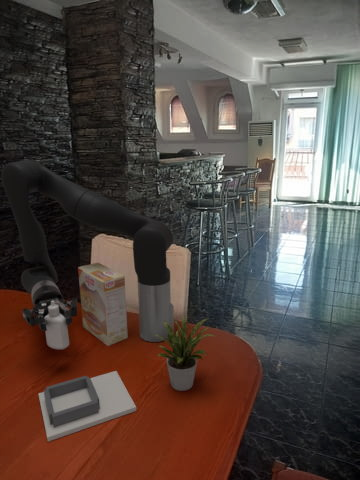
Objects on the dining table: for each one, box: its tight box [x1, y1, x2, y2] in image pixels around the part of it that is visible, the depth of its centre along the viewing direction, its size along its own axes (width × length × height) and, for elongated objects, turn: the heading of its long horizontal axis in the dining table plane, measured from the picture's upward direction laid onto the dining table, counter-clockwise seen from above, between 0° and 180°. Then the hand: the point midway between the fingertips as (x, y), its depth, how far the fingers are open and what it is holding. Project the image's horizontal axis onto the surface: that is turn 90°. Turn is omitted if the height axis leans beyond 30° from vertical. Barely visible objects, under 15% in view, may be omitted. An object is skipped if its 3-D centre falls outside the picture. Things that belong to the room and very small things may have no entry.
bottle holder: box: [38, 370, 137, 442], centre depth 80 cm, size 18×14×4 cm
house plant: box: [155, 313, 216, 392], centre depth 85 cm, size 14×14×16 cm
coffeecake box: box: [77, 262, 129, 347], centre depth 107 cm, size 15×7×20 cm, turn 41°
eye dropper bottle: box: [44, 301, 70, 350], centre depth 90 cm, size 4×6×12 cm
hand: (56, 324), depth 87 cm, fingers closed on eye dropper bottle, 4 cm apart
